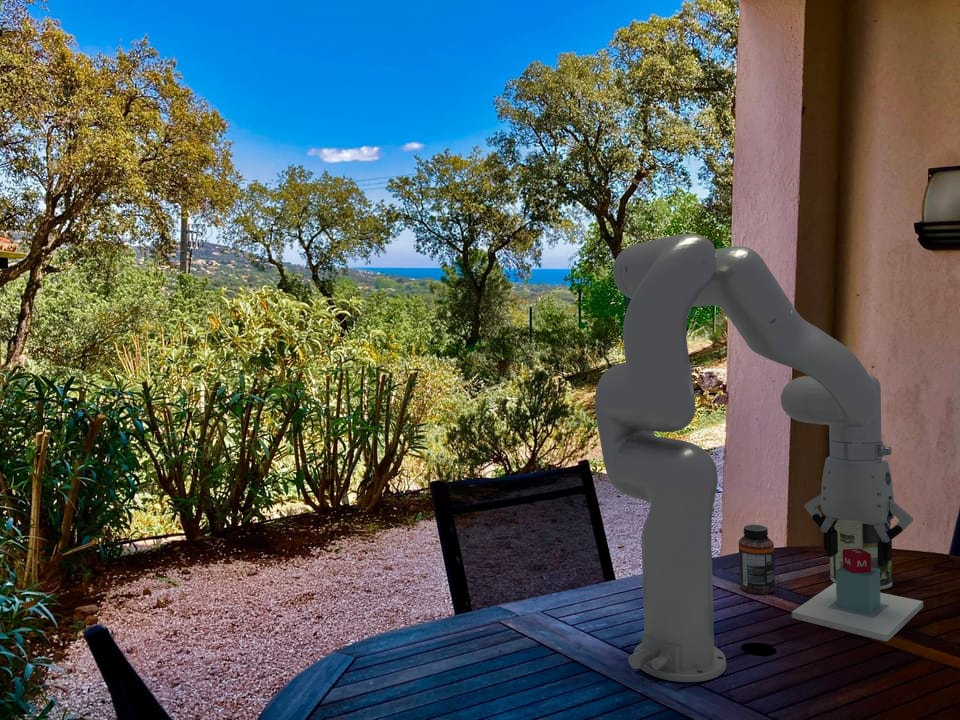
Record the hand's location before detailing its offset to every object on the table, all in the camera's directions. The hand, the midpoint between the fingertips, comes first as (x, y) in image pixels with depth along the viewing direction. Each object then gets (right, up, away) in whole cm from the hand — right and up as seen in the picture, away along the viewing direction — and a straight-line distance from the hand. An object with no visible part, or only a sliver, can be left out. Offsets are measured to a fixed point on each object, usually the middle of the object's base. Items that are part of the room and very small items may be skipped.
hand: (857, 559), depth 119 cm
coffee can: (+8, -8, +15) cm, 19 cm away
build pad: (0, -9, 0) cm, 9 cm away
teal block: (0, -8, 0) cm, 8 cm away
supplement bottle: (-12, -9, +13) cm, 19 cm away
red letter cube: (0, -2, 0) cm, 2 cm away
